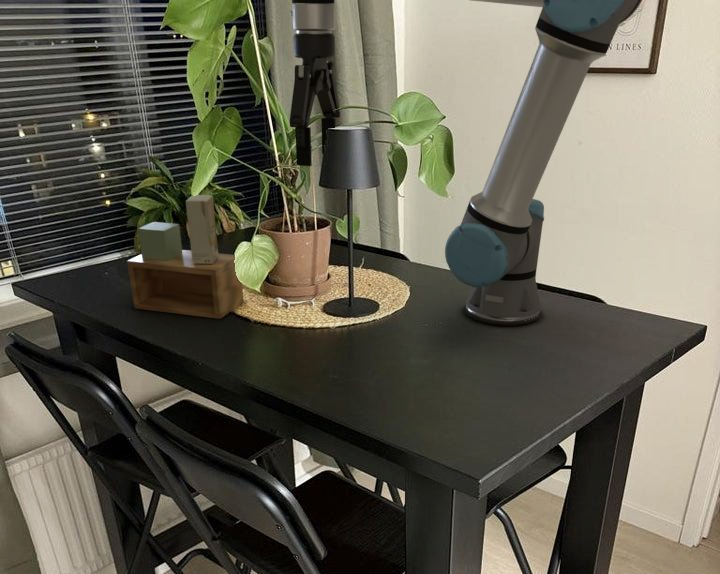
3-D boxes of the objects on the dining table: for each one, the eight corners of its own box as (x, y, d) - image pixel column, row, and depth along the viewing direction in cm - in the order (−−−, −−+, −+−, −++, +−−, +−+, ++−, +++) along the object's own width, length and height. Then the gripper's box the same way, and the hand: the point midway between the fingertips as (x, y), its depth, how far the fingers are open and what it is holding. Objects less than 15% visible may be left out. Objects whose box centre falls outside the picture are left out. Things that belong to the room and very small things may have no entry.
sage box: (157, 250, 160) (153, 221, 156) (182, 253, 158) (179, 223, 155) (142, 258, 155) (137, 228, 152) (167, 261, 153) (163, 230, 150)
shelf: (161, 292, 167) (155, 246, 162) (243, 301, 162) (239, 255, 157) (134, 308, 159) (126, 260, 153) (220, 319, 153) (215, 270, 148)
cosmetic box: (213, 264, 151) (207, 201, 145) (192, 264, 151) (184, 201, 145) (219, 255, 157) (213, 194, 150) (198, 255, 157) (191, 193, 150)
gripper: (318, 30, 146) (321, 148, 157) (266, 34, 126) (273, 169, 137) (355, 30, 144) (355, 150, 155) (308, 34, 124) (312, 172, 135)
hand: (317, 159), depth 146 cm, fingers open, 13 cm apart
